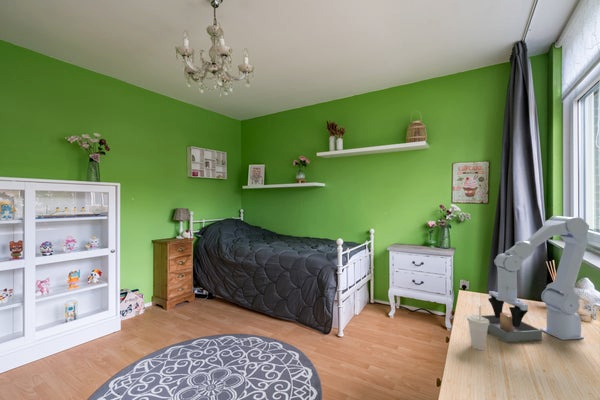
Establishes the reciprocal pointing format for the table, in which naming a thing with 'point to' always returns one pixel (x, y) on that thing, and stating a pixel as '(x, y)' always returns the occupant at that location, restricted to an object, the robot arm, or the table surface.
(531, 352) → the table surface
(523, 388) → the table surface
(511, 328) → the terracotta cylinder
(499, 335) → the tub
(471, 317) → the smoothie
